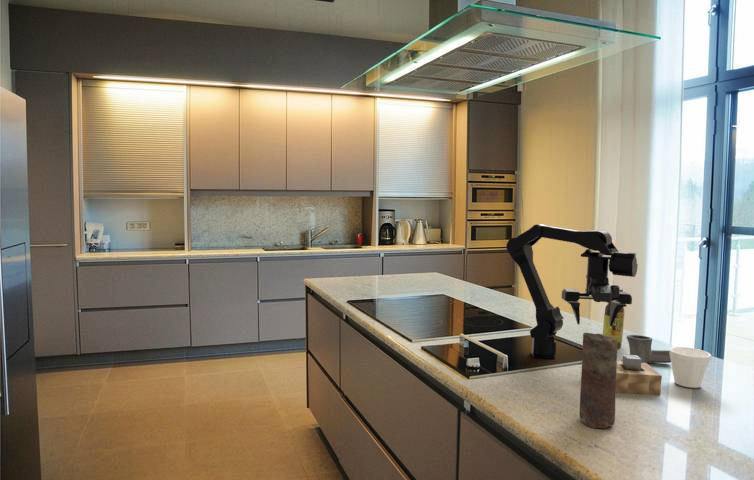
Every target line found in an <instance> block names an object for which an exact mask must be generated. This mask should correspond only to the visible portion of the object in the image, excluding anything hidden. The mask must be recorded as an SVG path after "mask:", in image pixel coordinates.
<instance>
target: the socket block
mask: <svg viewBox="0 0 754 480" xmlns="http://www.w3.org/2000/svg"><path fill="white" fill-rule="evenodd" d="M622 362H623V360H622V361H621V360H619V361H618V360H617V371H616V393H628V394H629V393H630V394H642V395H657V396H659V395H661V390H662V376H663V375H661V374H660V373H659V372H658V371H656V370H655V368H653V367H652V366H651V365H649V364H648V363H641V371H630V370H624V369H623V368H622Z"/></svg>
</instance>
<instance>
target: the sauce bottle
mask: <svg viewBox="0 0 754 480" xmlns="http://www.w3.org/2000/svg"><path fill="white" fill-rule="evenodd" d="M619 292H624V290H623V289H622V288H620V290H619ZM611 301H613V300H611ZM610 305H611V302H610V303H607V304H606V306H605V307H604V316H603V328H602V335H605V336H608V337H612V338H613V337H616V338H617V339H618V343H617V349H618V348H621V347H622V343H623V338H624V337H623V335H624V324H625V323H624V322H625V307H623V308H621V309H620V311H619V312H618V314H617V316H616V318H615V320H614V322H613V325H612V326H609V316H610Z"/></svg>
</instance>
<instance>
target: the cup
mask: <svg viewBox="0 0 754 480" xmlns="http://www.w3.org/2000/svg"><path fill="white" fill-rule="evenodd" d="M668 351H669V355H670V359H671V363H670V364H671V371H672V375H673V380H674V383H675V385H677V386H679V387H681V388H685V389H691V388H695V389H696V388H697V389H700V388H701V387H702V384H703V381H704V377H705V375H706V371H707V368H708V366H709V363H710V362H711V360H712V354H711V353H710V352H708V351H706V350H702V349H698V348H693V347H687V346H672V347H669V349H668Z"/></svg>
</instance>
